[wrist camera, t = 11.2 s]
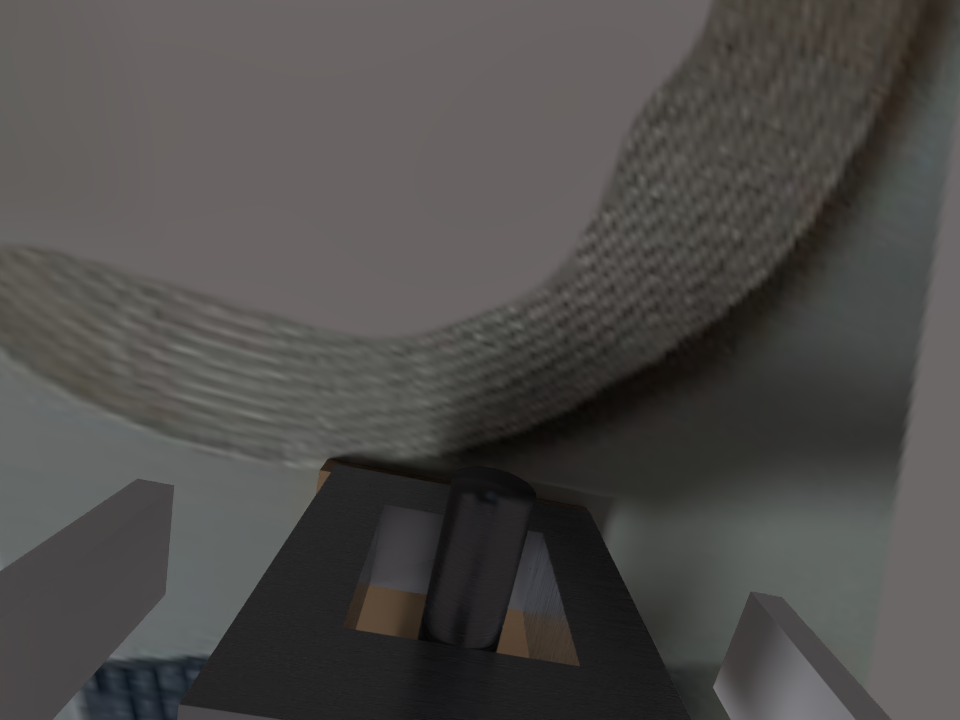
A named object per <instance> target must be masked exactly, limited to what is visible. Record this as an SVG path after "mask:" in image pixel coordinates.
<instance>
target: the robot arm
mask: <svg viewBox="0 0 960 720" xmlns="http://www.w3.org/2000/svg"><path fill="white" fill-rule="evenodd" d="M173 492H174V485H169V484H164V483H158V482H153V481H147V480H142V479H136V480H135V481H133V482H132V483H130V484H129V485H128V486H126V487H125V488H123V489H122V490H120V491H119V492H117V493H116V494H114V495H113V496H111V497H110V498H108V499H107V500H105V501H104V502H102V503H101V504H99V505H98V506H96V507H95V508H93V509H92V510H90V511H89V512H87V513H86V514H85V515H83V516H82V517H80V518H79V519H77V520H76V521H74V522H73V523H71V524H70V525H68V526H67V527H65V528H64V529H62V530H61V531H59V532H58V533H56V534H55V535H53V536H52V537H50V538H49V539H47V540H46V541H44V542H43V543H42V544H40V545H39V546H37V547H36V548H34V549H33V550H31V551H30V552H28V553H27V554H25V555H24V556H22V557H21V558H19V559H18V560H16V561H15V562H13V563H12V564H10V565H9V566H7V567H6V568H4V569H3V570H1V571H0V720H52V719H53V718H54V717H55V716H56V715H57V714H58V713H59V712H60V711H61V709H62V708H63V707H64V706H65V705H66V704H67V703H68V702H69V701H70V699H71V698H72V697H73V696H74V695H75V694H76V693H77V692H78V691H79V690H80V688H81V687H82V686H83V685H84V684H85V683H86V682H87V681H88V680H89V678H90V677H91V676H92V675H93V674H94V673H95V672H96V671H97V670H98V668H99V667H100V666H101V665H102V664H103V663H104V662H105V661H106V660H107V658H108V657H109V656H110V655H111V654H112V653H113V652H114V651H115V650H116V648H117V647H118V646H119V645H120V644H121V643H122V642H123V641H124V640H125V638H126V637H127V636H128V635H129V634H130V633H131V632H132V631H133V630H134V628H135V627H136V626H137V625H138V624H139V623H140V622H141V621H142V620H143V618H144V617H145V616H146V615H147V614H148V613H149V612H150V611H151V610H152V608H153V607H154V606H155V605H156V604H157V603H158V602H159V601H160V600H161V598H162V597H163V596H164V595H165V592H166V579H167V567H168V554H169V542H170V529H171V517H172V504H173ZM713 688H714V690H715V692H716V694H717V696H718V697H719V699H720V701H721V703H722V705H723V706H724V708H725V710H726V712H727V714H728V715H729V717H730V719H731V720H891V719H890V717H889V716H888V715H887V714H886V713H885V712H884V711H883V710H882V708H880V706H879V705H878V704H877V703H876V702H875V701H874V700H873V698H872V697H871V696H870V695H869V694H868V693H867V692H866V691H865V689H864V688H863V687H862V686H861V685H860V684H859V683H858V682H857V681H856V679H855V678H854V677H853V676H852V675H851V674H850V673H849V672H848V670H847V669H846V668H845V667H844V666H843V665H842V664H841V663H840V662H839V660H838V659H837V658H836V657H835V656H834V655H833V654H832V653H831V651H830V650H829V649H828V648H827V647H826V646H825V645H824V644H823V643H822V641H821V640H820V639H819V638H818V637H817V636H816V635H815V634H814V632H813V631H812V630H811V629H810V628H809V627H808V626H807V625H806V624H805V622H804V621H803V620H802V619H801V618H800V617H799V616H798V615H797V613H796V612H795V611H794V610H793V609H792V608H791V607H790V606H789V604H788V603H787V602H786V601H785V600H784V599H783V598H782V597H778V596H773V595H767V594H762V593H757V592H750V595H749V597H748V600H747V602H746V605H745V608H744V610H743V613H742V615H741V618H740V620H739V623H738V625H737V628H736V630H735V633H734V636H733V638H732V641H731V643H730V646H729V648H728V651H727V653H726V656H725V658H724V661H723V664H722V666H721V669H720V671H719V674H718V676H717V679H716V681H715V684H714V686H713Z"/></svg>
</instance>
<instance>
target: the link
mask: <svg viewBox="0 0 960 720" xmlns="http://www.w3.org/2000/svg"><path fill="white" fill-rule="evenodd" d="M450 487H451V486H450V485H445V484H440V483H434V482H429V481H423V480H418V479H413V478H407V477H402V476H397V475H391V474H386V473H381V472H375V471H370V470H364V469H359V468H354V467H348V466H343V465H338V464H336V465H335V467H334V468H333V470H332V471H331V473H330V474H329V476H328V477H327V479H326V480H325V482H324V484H323V485H322V487H321V488H320V490H319V491H318V493H317V494H316V496H315V497H314V499H313V500H312V502H311V503H310V505H309V506H308V508H307V509H306V511H305V513H304V514H303V516H302V517H301V519H300V520H299V522H298V523H297V525H296V526H295V528H294V529H293V531H292V532H291V534H290V535H289V537H288V539H287V540H286V542H285V543H284V545H283V546H282V548H281V549H280V551H279V552H278V554H277V555H276V557H275V558H274V560H273V561H272V563H271V565H270V566H269V568H268V569H267V571H266V572H265V574H264V575H263V577H262V578H261V580H260V581H259V583H258V584H257V586H256V587H255V589H254V590H253V592H252V594H251V595H250V597H249V598H248V600H247V601H246V603H245V604H244V606H243V607H242V609H241V610H240V612H239V613H238V615H237V616H236V618H235V620H234V621H233V623H232V624H231V626H230V627H229V629H228V630H227V632H226V633H225V635H224V636H223V638H222V639H221V641H220V642H219V644H218V646H217V647H216V649H215V650H214V652H213V653H212V655H211V656H210V658H209V659H208V661H207V662H206V664H205V665H204V667H203V668H202V670H201V671H200V673H199V675H198V676H197V678H196V679H195V681H194V682H193V684H192V685H191V687H190V688H189V690H188V691H187V693H186V694H185V696H184V697H183V699H182V701H181V702H180V704H179V709H178V718H177V720H691V718H690V716H689V714H688V712H687V710H686V708H685V705H684V703H683V701H682V699H681V697H680V695H679V693H678V691H677V689H676V687H675V685H674V683H673V681H672V679H671V677H670V675H669V673H668V671H667V669H666V667H665V665H664V663H663V661H662V659H661V657H660V655H659V653H658V651H657V648H656V646H655V644H654V642H653V640H652V638H651V636H650V634H649V632H648V630H647V628H646V626H645V624H644V622H643V620H642V618H641V616H640V614H639V612H638V610H637V608H636V606H635V604H634V602H633V600H632V598H631V596H630V594H629V592H628V589H627V587H626V585H625V583H624V581H623V579H622V577H621V575H620V573H619V571H618V569H617V567H616V565H615V563H614V561H613V559H612V557H611V555H610V553H609V551H608V549H607V547H606V545H605V543H604V541H603V539H602V537H601V535H600V533H599V530H598V528H597V526H596V524H595V522H594V520H593V518H592V516H591V514H590V512H589V511H584V510H579V509H574V508H568V507H563V506H557V505H552V504H547V503H541V502H536V501H535V505H534V509H533V513H532V517H531V521H530V525H529V529H528V532H527V536H526V540H525V544H524V548H523V552H522V556H521V560H520V563H519V567H518V571H517V575H516V579H515V583H514V587H513V591H512V594H511V598H510V602H509V606H508V609H513V610H519V611H522V613H523V619H524V626H525V632H526V638H527V645H528V651H529V657H530V658H525V657H519V656H513V655H507V654H501V653H495V652H489V651H483V650H477V649H470V648H464V647H458V646H452V645H446V644H440V643H434V642H428V641H422V640H415V639H409V638H403V637H397V636H391V635H385V634H379V633H373V632H366V631H360V630H356V627H357V623H358V620H359V617H360V614H361V610H362V607H363V604H364V601H365V597H366V594H367V591H368V587H369V585H372V586H378V587H384V588H390V589H396V590H401V591H407V592H413V593H419V594H425V595H427V592H428V587H429V583H430V578H431V573H432V569H433V564H434V560H435V555H436V551H437V546H438V541H439V537H440V532H441V528H442V523H443V519H444V514H445V509H446V505H447V500H448V496H449V491H450Z"/></svg>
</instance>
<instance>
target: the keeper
mask: <svg viewBox="0 0 960 720" xmlns="http://www.w3.org/2000/svg"><path fill="white" fill-rule="evenodd" d="M336 464H338V465H343V466H348V467H354V468H359V469H364V470H370V471H375V472H381V473H386V474H391V475H397V476H402V477H407V478H413V479H418V480H423V481H429V482H434V483H440V484H445V485H450V486H451V487H450V491H449V496H448V500H447V505H446V509H445V514H444V519H443V523H442V528H441V532H440V537H439V541H438V546H437V551H436V555H435V560H434V564H433V569H432V573H431V578H430V583H429V587H428V592H427V595H425V594H419V593H413V592H407V591H401V590H396V589H390V588H384V587H378V586H372V585H369V587H368V591H367V594H366V597H365V601H364V604H363V607H362V610H361V614H360V617H359V620H358V623H357V627H356V630H360V631H366V632H373V633H379V634H385V635H391V636H397V637H403V638H409V639H415V640H422V641H428V642H434V643H440V644H446V645H452V646H458V647H464V648H470V649H477V650H483V651H489V652H495V653H501V654H507V655H513V656H519V657H525V658H530V657H529V651H528V645H527V638H526V632H525V626H524V619H523V613H522V611H519V610H513V609H508V606H509V602H510V598H511V594H512V591H513V587H514V583H515V579H516V575H517V571H518V567H519V563H520V560H521V556H522V552H523V548H524V544H525V540H526V536H527V532H528V529H529V525H530V521H531V517H532V513H533V509H534V505H535V501H536V502H541V503H547V504H552V505H557V506H563V507H568V508H574V509H579V510H584V511H588V510H587V508H584V507H579V506H574V505H568V504H563V503H558V502H553V501H547V500H542V499H537V498H536V493H535V491H534V489H533V488H532V487H531V486H530V485H529V484H528V483H527V482H525V481H524V480H522V479H521V478H519V477H517V476H515V475H513V474H510V473H508V472H505V471H502V470H498V469H494V468H489V467H466V468H462V469H460V470H458V471H456V472H455V473H454V475H453V477H452V482H448V481H442V480H437V479H432V478H427V477H422V476H416V475H411V474H406V473H401V472H395V471H390V470H385V469H380V468H374V467H369V466H364V465H359V464H353V463H348V462H343V461H338V460H332V459H328V460H327V461H326V462H325V464H324V465H323V467H322V468H321V469H320V472H319V479H318V485H317V491H316V494H317V493H318V491H319V490H320V488H321V487H322V485H323V484H324V482H325V480H326V479H327V477H328V476H329V474H330V473H331V471H332V470H333V468H334V467H335V465H336Z"/></svg>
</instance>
